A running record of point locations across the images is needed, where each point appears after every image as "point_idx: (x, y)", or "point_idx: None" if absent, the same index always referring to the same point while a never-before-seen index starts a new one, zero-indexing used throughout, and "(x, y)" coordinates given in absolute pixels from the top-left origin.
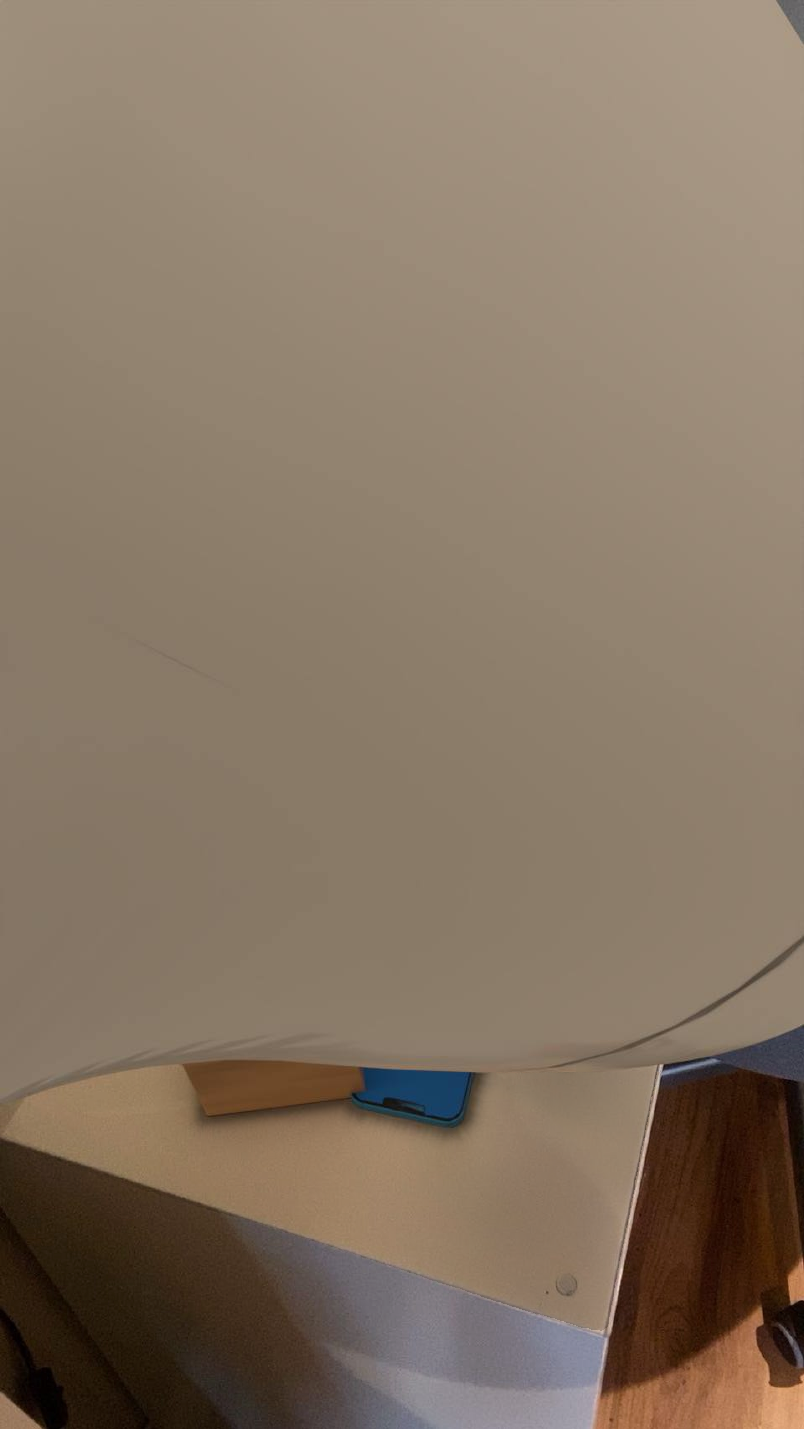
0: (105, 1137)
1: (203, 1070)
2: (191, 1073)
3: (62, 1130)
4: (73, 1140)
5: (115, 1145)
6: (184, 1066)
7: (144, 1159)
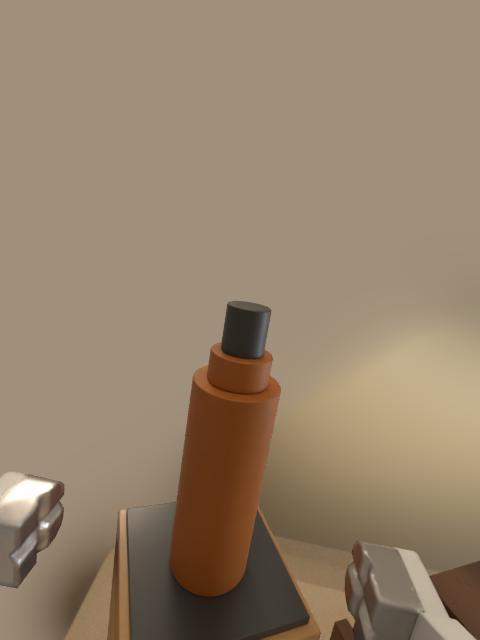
0: (101, 597)
1: (108, 637)
2: (108, 628)
3: (110, 568)
4: (103, 577)
5: (94, 606)
6: (109, 615)
7: (79, 632)
